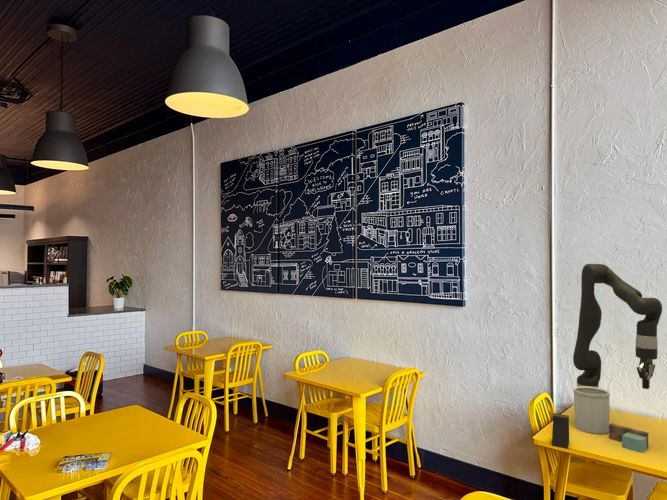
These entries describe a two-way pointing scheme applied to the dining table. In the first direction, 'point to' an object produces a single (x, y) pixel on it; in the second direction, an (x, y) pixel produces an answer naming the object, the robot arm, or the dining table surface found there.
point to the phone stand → (560, 431)
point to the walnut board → (623, 432)
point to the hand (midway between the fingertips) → (645, 388)
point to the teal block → (634, 442)
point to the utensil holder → (591, 409)
